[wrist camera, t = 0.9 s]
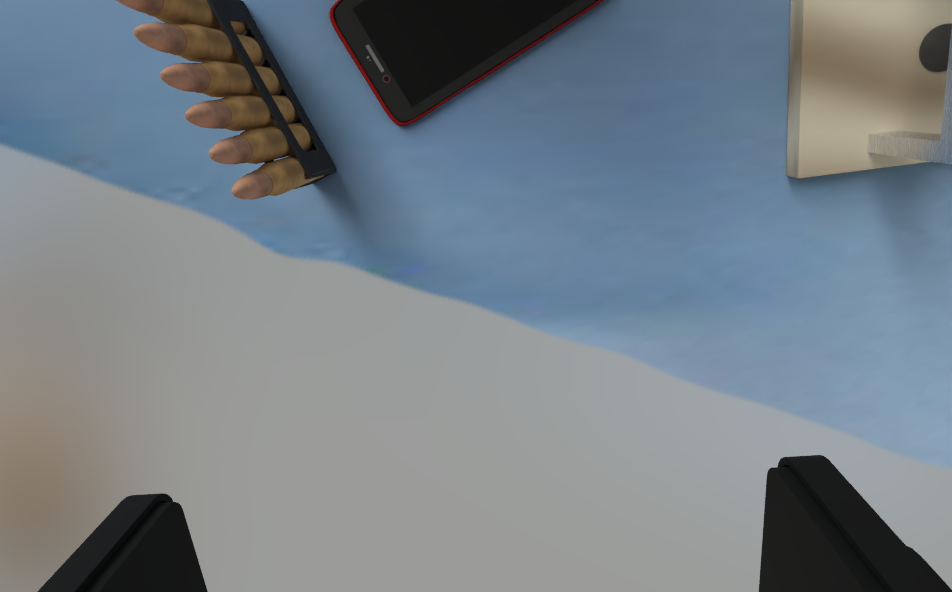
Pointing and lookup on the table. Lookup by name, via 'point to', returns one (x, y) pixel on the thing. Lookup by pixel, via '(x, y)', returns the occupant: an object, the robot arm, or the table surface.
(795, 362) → the table surface
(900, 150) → the frame
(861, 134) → the hole plate
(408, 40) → the cell phone
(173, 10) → the ammunition clip
